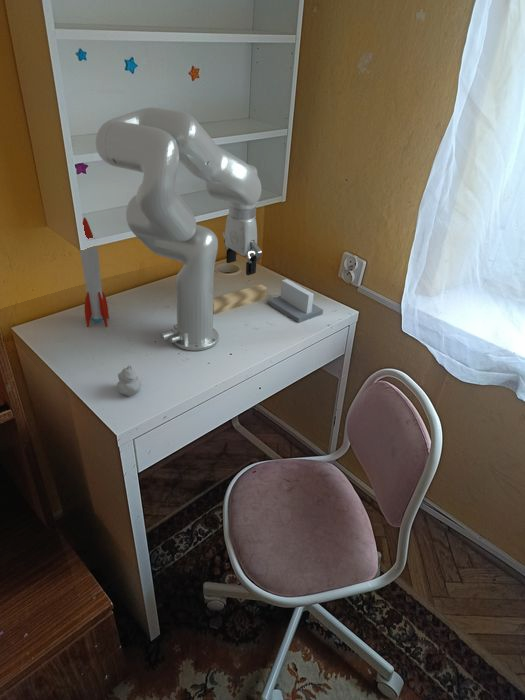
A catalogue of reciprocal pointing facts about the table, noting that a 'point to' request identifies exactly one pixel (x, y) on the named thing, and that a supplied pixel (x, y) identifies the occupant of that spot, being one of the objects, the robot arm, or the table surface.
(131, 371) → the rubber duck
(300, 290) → the fulcrum
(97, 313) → the toy rocket
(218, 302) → the rod
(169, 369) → the table surface
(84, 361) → the table surface
